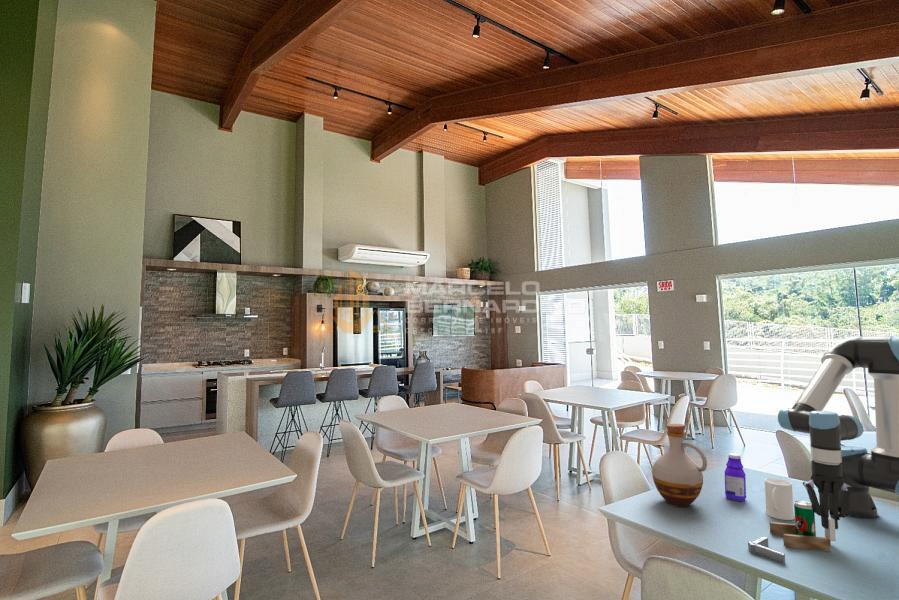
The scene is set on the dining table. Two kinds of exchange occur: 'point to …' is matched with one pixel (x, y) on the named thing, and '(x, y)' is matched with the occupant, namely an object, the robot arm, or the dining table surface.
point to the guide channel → (799, 538)
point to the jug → (678, 470)
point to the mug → (779, 499)
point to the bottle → (735, 478)
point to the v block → (765, 550)
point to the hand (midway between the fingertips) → (830, 539)
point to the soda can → (804, 518)
